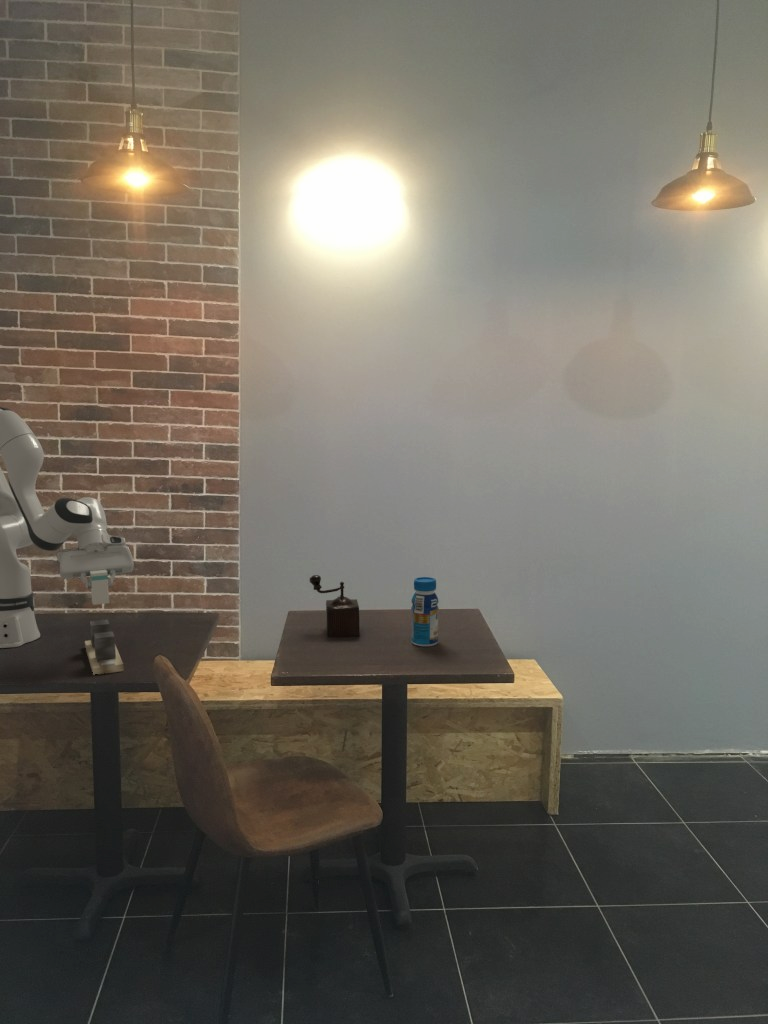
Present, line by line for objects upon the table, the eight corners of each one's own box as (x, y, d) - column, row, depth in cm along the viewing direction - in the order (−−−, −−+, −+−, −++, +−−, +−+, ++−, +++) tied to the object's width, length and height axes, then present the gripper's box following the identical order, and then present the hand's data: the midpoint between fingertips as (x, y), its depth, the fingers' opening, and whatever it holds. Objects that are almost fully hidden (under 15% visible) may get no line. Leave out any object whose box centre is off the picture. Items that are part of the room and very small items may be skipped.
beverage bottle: (406, 640, 255) (407, 577, 251) (432, 637, 257) (432, 575, 254) (416, 648, 247) (417, 583, 244) (442, 645, 249) (443, 581, 246)
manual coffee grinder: (357, 626, 270) (357, 572, 267) (360, 636, 259) (359, 580, 256) (310, 627, 268) (309, 573, 265) (310, 638, 257) (309, 582, 254)
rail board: (93, 675, 225) (91, 643, 224) (85, 647, 248) (83, 618, 247) (123, 670, 228) (121, 639, 227) (112, 643, 252) (111, 615, 250)
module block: (93, 604, 233) (90, 573, 232) (91, 601, 237) (89, 570, 235) (109, 603, 235) (107, 572, 233) (107, 599, 238) (105, 569, 237)
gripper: (56, 543, 235) (60, 584, 228) (130, 537, 243) (136, 576, 236) (56, 556, 240) (60, 596, 233) (129, 549, 248) (135, 588, 241)
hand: (99, 586), depth 234 cm, fingers closed on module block, 4 cm apart
